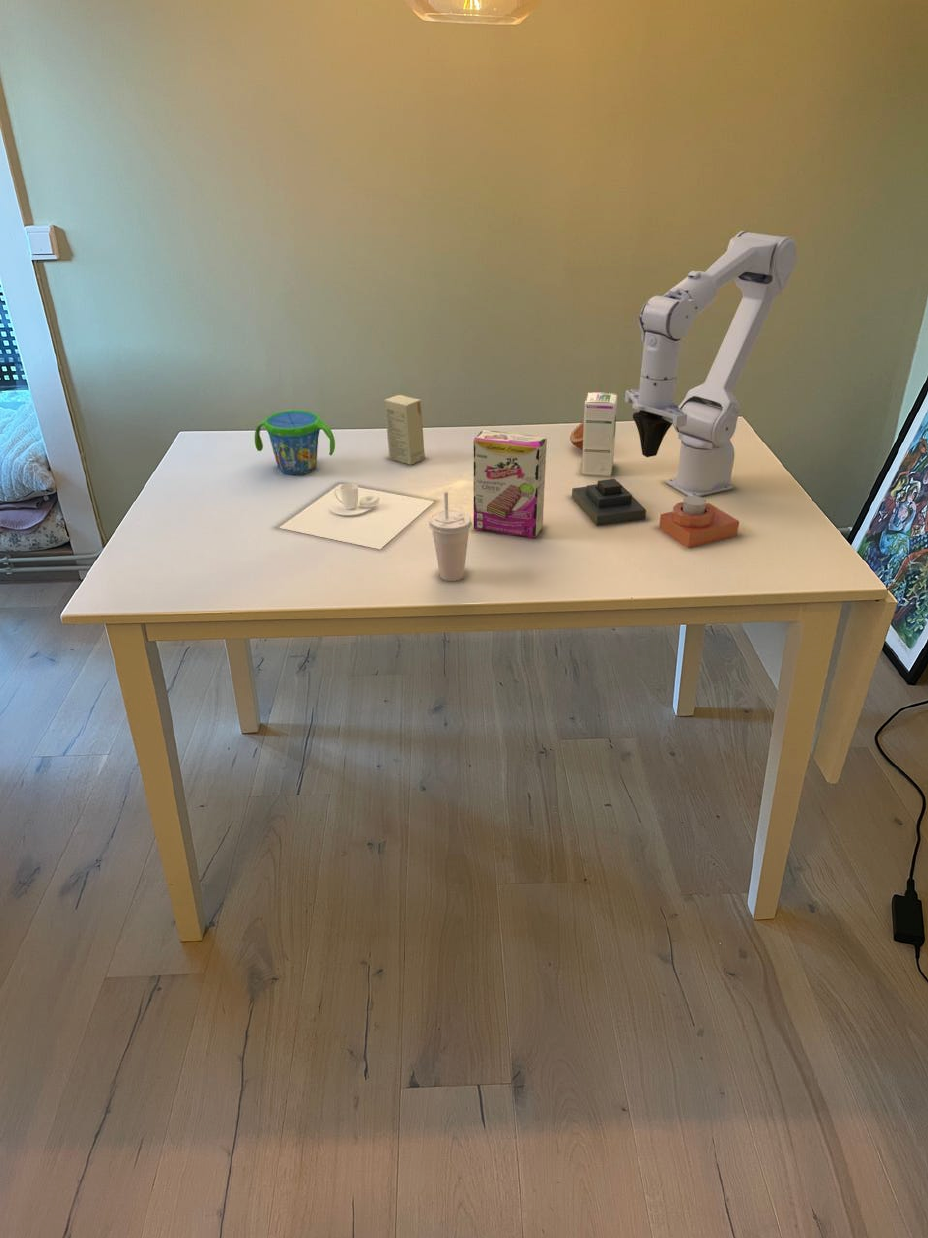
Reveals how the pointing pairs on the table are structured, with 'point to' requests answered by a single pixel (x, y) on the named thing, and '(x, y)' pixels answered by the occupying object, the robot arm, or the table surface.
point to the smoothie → (450, 540)
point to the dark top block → (609, 487)
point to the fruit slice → (578, 436)
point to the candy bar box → (509, 483)
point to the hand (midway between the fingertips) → (649, 455)
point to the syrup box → (599, 433)
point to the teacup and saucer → (358, 515)
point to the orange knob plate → (698, 525)
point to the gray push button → (694, 505)
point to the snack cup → (294, 439)
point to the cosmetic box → (404, 429)
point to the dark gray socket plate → (608, 505)
